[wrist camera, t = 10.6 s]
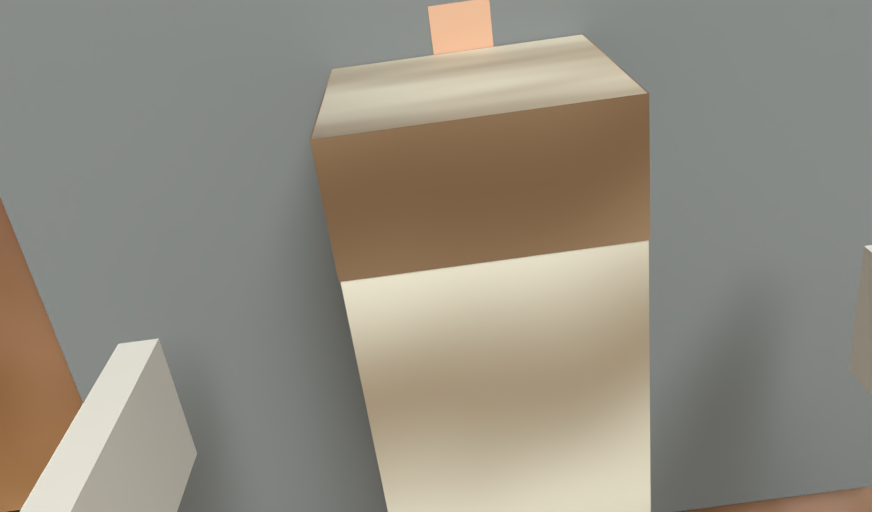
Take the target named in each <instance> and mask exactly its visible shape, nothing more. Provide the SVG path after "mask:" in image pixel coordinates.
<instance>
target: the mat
mask: <svg viewBox="0 0 872 512" xmlns="http://www.w3.org/2000/svg"><path fill="white" fill-rule="evenodd" d="M580 34H584V35H585V36H586V37H587V38H588V39H589V40H590V41H591V42H593V43H594V44H595V45H596V46H597V47H598V48H599V49H600V50H601V51H603V52H604V53H605V54H606V55H607V56H608V57H609V58H610V59H612V60H613V61H614V62H615V63H616V64H617V65H618V66H619V67H621V68H622V69H623V70H624V71H625V72H626V73H627V74H628V75H629V76H631V77H632V78H633V79H634V80H635V81H636V82H637V83H638V84H640V85H641V86H642V87H643V88H644V89H645V90H646V91H647V92H648V93H649V113H650V240H649V348H650V484H651V512H678V511H685V510H693V509H701V508H708V507H716V506H724V505H732V504H739V503H747V502H755V501H762V500H770V499H778V498H786V497H793V496H801V495H809V494H816V493H824V492H832V491H839V490H847V489H855V488H863V487H870V486H872V396H871V395H870V394H869V393H868V392H867V391H866V389H865V388H864V387H863V386H862V385H861V384H860V383H859V382H858V380H857V379H856V378H855V377H854V376H853V375H852V374H851V373H850V371H849V370H848V367H849V359H850V351H851V343H852V336H853V328H854V320H855V312H856V305H857V297H858V289H859V281H860V273H861V266H862V258H863V250H864V246H868V245H872V0H0V197H1V200H2V202H3V205H4V207H5V210H6V212H7V215H8V217H9V220H10V222H11V225H12V227H13V230H14V232H15V235H16V237H17V240H18V242H19V245H20V247H21V250H22V252H23V255H24V257H25V260H26V262H27V265H28V267H29V270H30V272H31V275H32V277H33V280H34V282H35V285H36V287H37V289H38V292H39V294H40V297H41V299H42V302H43V304H44V307H45V309H46V312H47V314H48V317H49V319H50V322H51V324H52V327H53V329H54V332H55V334H56V337H57V339H58V342H59V344H60V347H61V349H62V352H63V354H64V357H65V359H66V362H67V364H68V367H69V369H70V372H71V374H72V377H73V379H74V382H75V384H76V387H77V389H78V392H79V394H80V397H81V399H82V402H83V403H84V401H85V400H86V398H87V396H88V394H89V393H90V391H91V389H92V388H93V386H94V384H95V383H96V381H97V379H98V377H99V376H100V374H101V372H102V371H103V369H104V367H105V366H106V364H107V362H108V360H109V359H110V357H111V355H112V354H113V352H114V350H115V349H116V347H117V345H118V344H120V343H128V342H136V341H143V340H151V339H159V341H160V344H161V347H162V350H163V353H164V356H165V359H166V362H167V365H168V368H169V371H170V374H171V377H172V380H173V383H174V386H175V389H176V392H177V395H178V398H179V401H180V404H181V407H182V410H183V413H184V416H185V419H186V422H187V425H188V428H189V431H190V433H191V436H192V439H193V442H194V445H195V448H196V451H197V455H196V458H195V461H194V464H193V467H192V470H191V473H190V476H189V479H188V481H187V484H186V487H185V490H184V493H183V496H182V499H181V502H180V505H179V508H178V511H177V512H388V510H387V505H386V500H385V495H384V490H383V485H382V481H381V476H380V471H379V466H378V461H377V456H376V452H375V447H374V442H373V437H372V432H371V427H370V423H369V418H368V413H367V408H366V403H365V398H364V394H363V389H362V384H361V379H360V374H359V369H358V364H357V360H356V355H355V350H354V345H353V340H352V335H351V331H350V326H349V321H348V316H347V311H346V306H345V302H344V297H343V292H342V287H341V282H339V280H338V275H337V270H336V265H335V260H334V255H333V251H332V246H331V241H330V236H329V231H328V227H327V222H326V217H325V212H324V207H323V202H322V198H321V193H320V188H319V183H318V178H317V174H316V169H315V164H314V159H313V154H312V149H311V145H310V137H311V134H312V131H313V127H314V124H315V121H316V118H317V114H318V111H319V108H320V105H321V101H322V98H323V95H324V92H325V88H326V85H327V82H328V79H329V75H330V72H331V69H335V68H343V67H350V66H357V65H364V64H371V63H379V62H386V61H393V60H400V59H407V58H415V57H422V56H429V55H436V54H443V53H451V52H458V51H465V50H472V49H479V48H487V47H494V46H501V45H508V44H515V43H522V42H530V41H537V40H544V39H551V38H558V37H566V36H573V35H580Z"/></svg>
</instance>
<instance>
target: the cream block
mask: <svg viewBox="0 0 872 512" xmlns="http://www.w3.org/2000/svg"><path fill="white" fill-rule="evenodd" d="M310 145H311V149H312V154H313V159H314V164H315V169H316V174H317V178H318V183H319V188H320V193H321V198H322V202H323V207H324V212H325V217H326V222H327V227H328V231H329V236H330V241H331V246H332V251H333V255H334V260H335V265H336V270H337V275H338V280H339V282H341V287H342V292H343V297H344V302H345V306H346V311H347V316H348V321H349V326H350V331H351V335H352V340H353V345H354V350H355V355H356V360H357V364H358V369H359V374H360V379H361V384H362V389H363V394H364V398H365V403H366V408H367V413H368V418H369V423H370V427H371V432H372V437H373V442H374V447H375V452H376V456H377V461H378V466H379V471H380V476H381V481H382V485H383V490H384V495H385V500H386V505H387V510H388V512H651V484H650V348H649V240H650V113H649V93H648V92H647V91H646V90H645V89H644V88H643V87H642V86H641V85H640V84H638V83H637V82H636V81H635V80H634V79H633V78H632V77H631V76H629V75H628V74H627V73H626V72H625V71H624V70H623V69H622V68H621V67H619V66H618V65H617V64H616V63H615V62H614V61H613V60H612V59H610V58H609V57H608V56H607V55H606V54H605V53H604V52H603V51H601V50H600V49H599V48H598V47H597V46H596V45H595V44H594V43H593V42H591V41H590V40H589V39H588V38H587V37H586V36H585V35H584V34H580V35H573V36H566V37H558V38H551V39H544V40H537V41H530V42H522V43H515V44H508V45H501V46H494V47H487V48H479V49H472V50H465V51H458V52H451V53H443V54H436V55H429V56H422V57H415V58H407V59H400V60H393V61H386V62H379V63H371V64H364V65H357V66H350V67H343V68H335V69H331V72H330V75H329V79H328V82H327V85H326V88H325V92H324V95H323V98H322V101H321V105H320V108H319V111H318V114H317V118H316V121H315V124H314V127H313V131H312V134H311V137H310Z"/></svg>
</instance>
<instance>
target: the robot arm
mask: <svg viewBox="0 0 872 512" xmlns="http://www.w3.org/2000/svg"><path fill="white" fill-rule="evenodd" d="M848 370H849V371H850V373H851V374H852V375H853V376H854V377H855V378H856V379H857V380H858V382H859V383H860V384H861V385H862V386H863V387H864V388H865V389H866V391H867V392H868V393H869V394H870V395H871V396H872V245H868V246H864V250H863V258H862V266H861V273H860V281H859V289H858V297H857V305H856V312H855V320H854V328H853V336H852V343H851V351H850V359H849V367H848ZM196 455H197V451H196V448H195V445H194V442H193V439H192V436H191V433H190V431H189V428H188V425H187V422H186V419H185V416H184V413H183V410H182V407H181V404H180V401H179V398H178V395H177V392H176V389H175V386H174V383H173V380H172V377H171V374H170V371H169V368H168V365H167V362H166V359H165V356H164V353H163V350H162V347H161V344H160V341H159V339H151V340H143V341H136V342H128V343H120V344H118V345H117V347H116V349H115V350H114V352H113V354H112V355H111V357H110V359H109V360H108V362H107V364H106V366H105V367H104V369H103V371H102V372H101V374H100V376H99V377H98V379H97V381H96V383H95V384H94V386H93V388H92V389H91V391H90V393H89V394H88V396H87V398H86V400H85V401H84V403H83V405H82V406H81V408H80V410H79V411H78V413H77V415H76V417H75V418H74V420H73V422H72V423H71V425H70V427H69V429H68V430H67V432H66V434H65V435H64V437H63V439H62V440H61V442H60V444H59V446H58V447H57V449H56V451H55V452H54V454H53V456H52V457H51V459H50V461H49V463H48V464H47V466H46V468H45V469H44V471H43V473H42V474H41V476H40V478H39V480H38V481H37V483H36V485H35V486H34V488H33V490H32V491H31V493H30V495H29V497H28V498H27V500H26V502H25V503H24V505H23V507H22V508H21V510H17V511H9V512H177V511H178V508H179V505H180V502H181V499H182V496H183V493H184V490H185V487H186V484H187V481H188V479H189V476H190V473H191V470H192V467H193V464H194V461H195V458H196Z"/></svg>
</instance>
